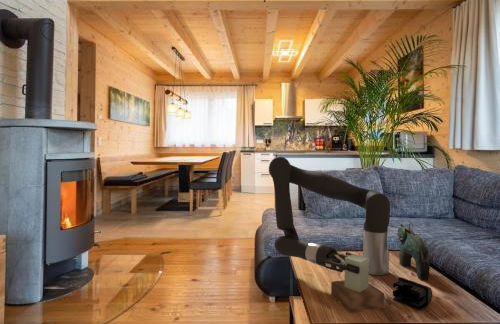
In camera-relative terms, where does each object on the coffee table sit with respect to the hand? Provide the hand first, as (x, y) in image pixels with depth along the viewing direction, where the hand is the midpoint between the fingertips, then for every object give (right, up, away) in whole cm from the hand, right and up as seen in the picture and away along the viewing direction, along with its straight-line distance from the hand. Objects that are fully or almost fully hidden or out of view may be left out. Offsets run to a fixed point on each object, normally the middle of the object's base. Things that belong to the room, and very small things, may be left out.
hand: (363, 268), depth 101 cm
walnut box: (-2, -12, +2) cm, 12 cm away
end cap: (+16, -12, +2) cm, 21 cm away
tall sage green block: (-2, -7, +2) cm, 8 cm away
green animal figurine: (+31, -11, +28) cm, 43 cm away
